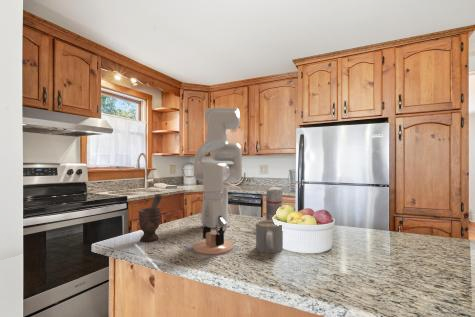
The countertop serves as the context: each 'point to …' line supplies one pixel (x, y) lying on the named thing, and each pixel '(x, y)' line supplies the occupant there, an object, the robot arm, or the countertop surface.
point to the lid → (212, 245)
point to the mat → (212, 255)
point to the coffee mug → (269, 237)
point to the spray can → (273, 201)
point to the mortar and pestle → (150, 220)
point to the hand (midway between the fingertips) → (213, 241)
